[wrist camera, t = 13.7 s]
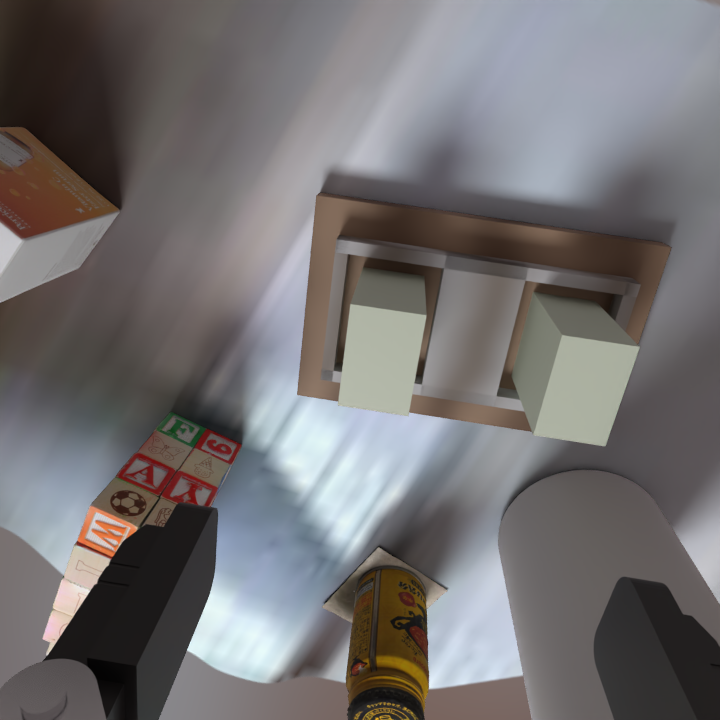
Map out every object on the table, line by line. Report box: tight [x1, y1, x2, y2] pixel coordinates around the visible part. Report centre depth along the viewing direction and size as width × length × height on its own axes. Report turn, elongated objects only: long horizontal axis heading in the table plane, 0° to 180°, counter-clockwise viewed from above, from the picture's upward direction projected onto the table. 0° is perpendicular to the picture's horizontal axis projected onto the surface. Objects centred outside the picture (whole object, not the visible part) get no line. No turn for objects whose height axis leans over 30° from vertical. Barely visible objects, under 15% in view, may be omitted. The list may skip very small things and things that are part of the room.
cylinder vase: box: [498, 470, 720, 720], centre depth 34 cm, size 12×12×25 cm
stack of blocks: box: [43, 412, 242, 655], centre depth 44 cm, size 21×6×12 cm, turn 153°
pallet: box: [297, 193, 672, 432], centre depth 38 cm, size 22×14×3 cm, turn 83°
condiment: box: [322, 547, 447, 720], centre depth 45 cm, size 7×8×12 cm
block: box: [511, 292, 640, 446], centre depth 35 cm, size 4×6×8 cm, turn 173°
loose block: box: [338, 267, 427, 416], centre depth 35 cm, size 4×6×8 cm, turn 173°
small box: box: [0, 127, 120, 302], centre depth 34 cm, size 8×6×10 cm
